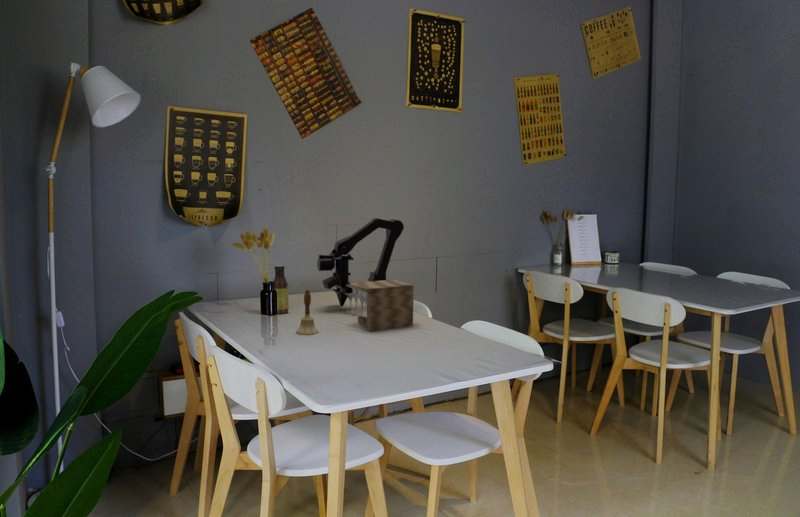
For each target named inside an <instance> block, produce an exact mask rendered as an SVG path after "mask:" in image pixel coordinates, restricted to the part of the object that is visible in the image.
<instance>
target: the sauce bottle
mask: <svg viewBox="0 0 800 517" xmlns="http://www.w3.org/2000/svg"><path fill="white" fill-rule="evenodd" d="M274 273H275V274H274V279H273V281H272V283H273V282H274V289H275V290H276V292H277V313H276V314H279V315H280V314H288V312H289V285H288V281H287V279H286V276H285V265H283V264H281V265H278V264H277V265H274Z"/></svg>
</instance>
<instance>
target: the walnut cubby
mask: <svg viewBox="0 0 800 517" xmlns="http://www.w3.org/2000/svg"><path fill="white" fill-rule="evenodd" d="M349 287H350V288H353V289H356V290H359V291H362V292H365V293H367V305H366V316H364V315H363V316H364V317H363V316H362V315H360V316H357V317H358V318H357V323H358V324H360V325H363V326H366V332H367V333H371V332H376V331H384V330H391V329H392V330H393V329H399V328H405V327H412V326H413V325H414V289H415V288H414V285H413V284H410V283H407V282H403V281H401V280H396V279H386V280H382V281H371V282H369V281H363V282H361V281H360V282H353V283H352V282H350V284H349ZM365 317H367V318H365Z"/></svg>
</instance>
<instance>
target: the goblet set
mask: <svg viewBox="0 0 800 517" xmlns="http://www.w3.org/2000/svg"><path fill="white" fill-rule="evenodd" d="M350 283H351V282H350ZM350 283H347V284H345V286H349V284H350ZM352 292H353V293H345V294H346V296H347V299H349V305H350V307H349V310H346V311H345V314H351V316H353V317H357V319H358V316H363V317H365V318H367V316H364V315H363V314H364V312H363V310H364V309H363V308H364V303H365V305H366V306H367V293H365V292H362V291H359V290H356V289H353V288H352ZM353 298H354V300H355V310H352V300H353ZM358 300H360V305H361V313H358V311H357V310H358V309H357V308H358Z"/></svg>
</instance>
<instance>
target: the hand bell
mask: <svg viewBox="0 0 800 517" xmlns="http://www.w3.org/2000/svg"><path fill="white" fill-rule="evenodd" d="M311 303H312V297H311V292H310V289H305V292H304V295H303V304H304V307H305V308H304V316H303V317H301V318H300V324H299V326H298V328H297V329H296V331H295V333H296V334H297V335H304V336H312V335H316V334H318V333H319V330H318V329H317V328H316V325H315V323H314V318H313V317H312V316H311V315H310V314H311V313H310V306H311Z"/></svg>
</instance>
